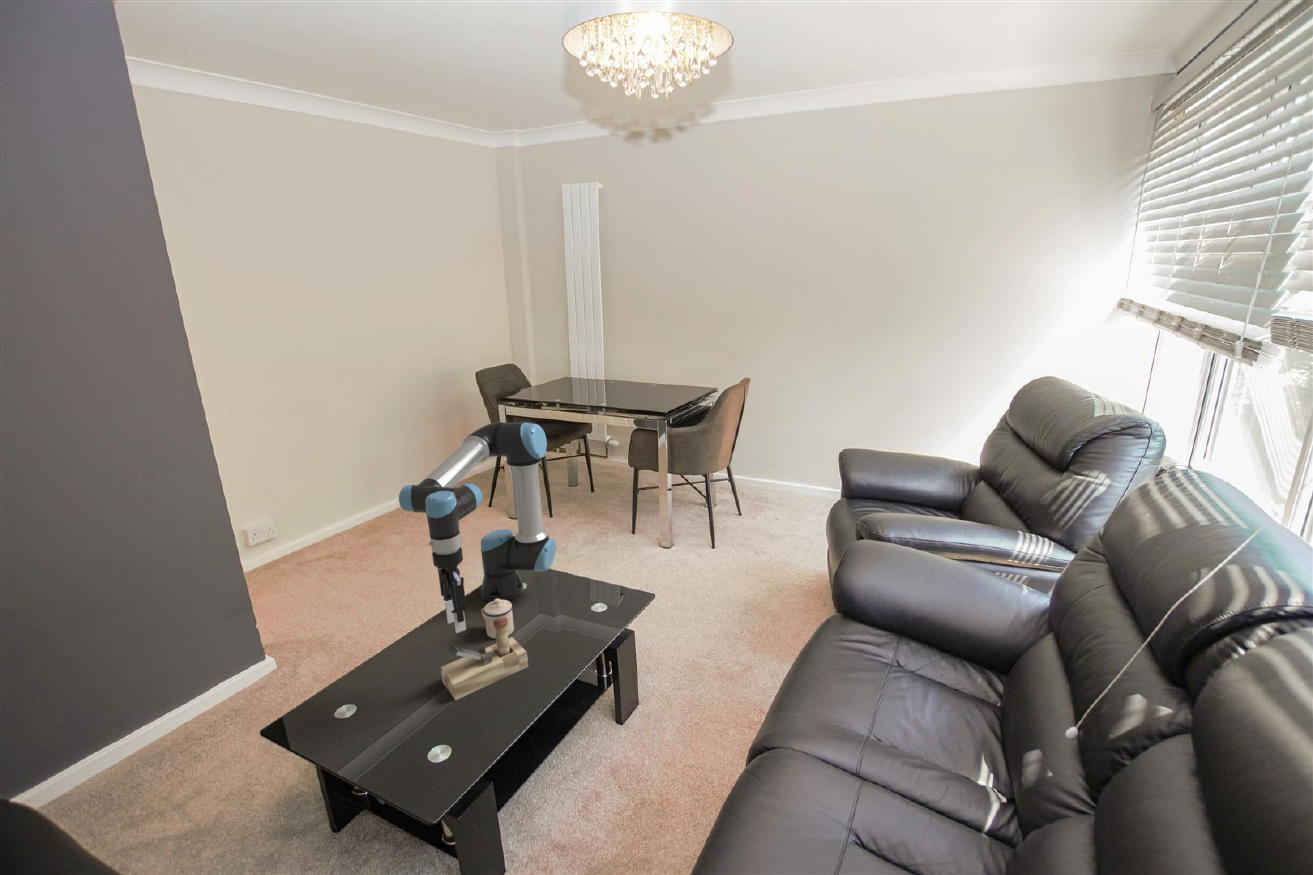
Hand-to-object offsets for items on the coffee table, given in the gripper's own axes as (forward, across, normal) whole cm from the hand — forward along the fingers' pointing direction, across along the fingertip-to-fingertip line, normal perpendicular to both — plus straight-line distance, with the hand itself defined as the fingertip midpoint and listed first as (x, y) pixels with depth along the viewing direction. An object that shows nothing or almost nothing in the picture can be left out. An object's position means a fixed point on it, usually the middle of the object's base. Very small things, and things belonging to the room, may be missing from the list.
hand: (456, 625), depth 162 cm
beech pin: (+19, 0, +12) cm, 23 cm away
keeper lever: (+10, 0, +2) cm, 10 cm away
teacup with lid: (+19, -19, +18) cm, 33 cm away
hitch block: (+19, 0, +6) cm, 20 cm away
